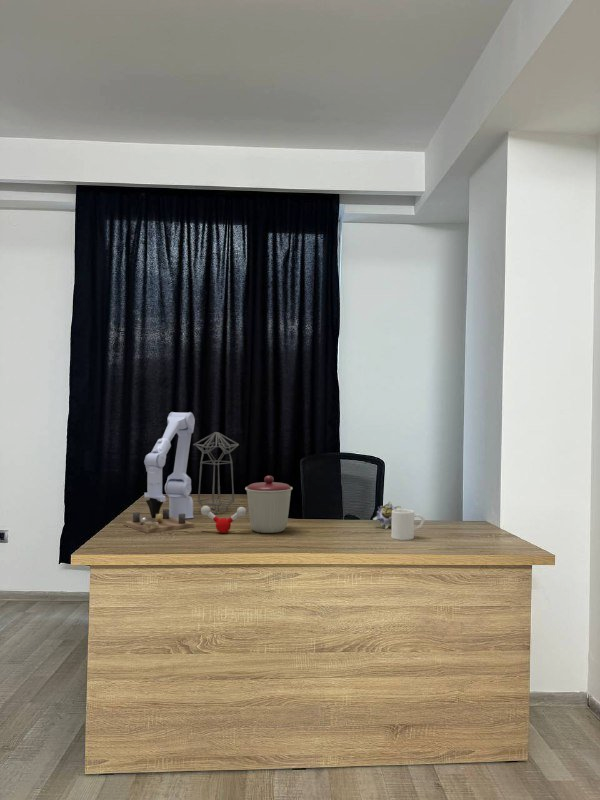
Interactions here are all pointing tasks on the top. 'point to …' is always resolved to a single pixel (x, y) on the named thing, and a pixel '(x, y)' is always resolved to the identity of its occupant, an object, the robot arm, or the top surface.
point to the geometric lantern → (219, 436)
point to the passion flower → (385, 514)
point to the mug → (404, 524)
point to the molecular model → (223, 523)
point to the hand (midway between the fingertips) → (154, 517)
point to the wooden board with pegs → (166, 524)
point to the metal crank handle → (158, 519)
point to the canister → (268, 505)
